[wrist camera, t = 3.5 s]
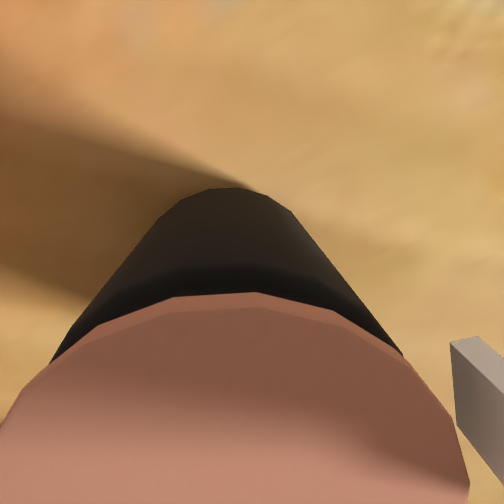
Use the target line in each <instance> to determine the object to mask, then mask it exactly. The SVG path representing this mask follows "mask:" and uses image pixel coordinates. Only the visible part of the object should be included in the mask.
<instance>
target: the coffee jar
mask: <svg viewBox="0 0 504 504" xmlns="http://www.w3.org/2000/svg"><path fill="white" fill-rule="evenodd" d="M469 486H470V481H469V477H468V474H467V470H466V466H465V463H464V459H463V456H462V452H461V448H460V445H459V441H458V438H457V434H456V430H455V427H454V423H453V420H452V417H451V416H450V415H449V413H448V412H447V411H446V410H445V408H444V407H443V406H442V404H441V403H440V402H439V401H438V399H437V398H436V397H435V395H434V394H433V393H432V392H431V390H430V389H429V388H428V386H427V385H426V384H425V383H424V381H423V380H422V379H421V377H420V376H419V375H418V374H417V372H416V371H415V370H414V369H413V367H412V366H411V365H410V363H409V362H408V361H407V360H406V359H405V358H404V357H403V354H402V352H401V351H400V350H399V348H398V347H397V346H396V345H395V343H394V342H393V341H392V339H391V338H390V337H389V336H388V334H387V333H386V332H385V331H384V329H383V328H382V327H381V325H380V324H379V323H378V322H377V320H376V319H375V318H374V316H373V315H372V314H371V313H370V311H369V310H368V309H367V307H366V306H365V305H364V304H363V302H362V301H361V300H360V299H359V297H358V296H357V295H356V293H355V292H354V291H353V290H352V288H351V287H350V286H349V285H348V283H347V282H346V281H345V280H344V278H343V277H342V276H341V274H340V273H339V272H338V271H337V269H336V268H335V267H334V266H333V264H332V263H331V262H330V260H329V259H328V258H327V257H326V255H325V254H324V253H323V252H322V250H321V249H320V248H319V246H318V245H317V244H316V243H315V241H314V240H313V239H312V238H311V236H310V235H309V234H308V232H307V231H306V230H305V229H304V227H303V226H302V225H301V224H300V222H299V221H298V220H297V219H296V217H295V216H294V215H293V213H292V212H291V211H290V210H288V209H287V208H285V207H284V206H282V205H280V204H279V203H277V202H276V201H274V200H273V199H271V198H270V197H268V196H267V195H263V194H259V193H256V192H252V191H248V190H245V189H241V188H226V189H208V190H206V191H203V192H201V193H198V194H195V195H193V196H190V197H188V198H185V199H182V200H181V201H179V202H178V203H177V204H176V205H175V206H173V207H172V208H171V209H170V210H168V211H167V212H166V213H165V214H164V215H162V216H161V217H160V218H159V219H158V220H157V221H156V223H155V224H154V225H153V226H152V228H151V229H150V230H149V231H148V233H147V234H146V235H145V236H144V237H143V239H142V240H141V241H140V242H139V244H138V245H137V246H136V247H135V249H134V250H133V251H132V252H131V254H130V255H129V256H128V257H127V259H126V260H125V261H124V262H123V263H122V265H121V266H120V267H119V268H118V270H117V271H116V272H115V273H114V275H113V276H112V277H111V278H110V280H109V281H108V282H107V283H106V285H105V286H104V287H103V288H102V289H101V291H100V292H99V293H98V294H97V296H96V297H95V298H94V299H93V301H92V302H91V303H90V304H89V306H88V307H87V308H86V309H85V311H84V312H83V313H82V314H81V316H80V317H79V318H78V319H77V320H76V322H75V323H74V324H73V325H72V327H71V328H70V330H69V331H68V333H67V335H66V336H65V338H64V340H63V341H62V343H61V345H60V346H59V348H58V350H57V351H56V353H55V355H54V356H53V358H52V360H51V361H50V363H49V365H48V366H47V367H45V368H44V369H43V370H42V371H40V372H39V373H38V374H37V375H36V376H35V377H34V378H33V379H32V380H31V381H30V382H29V383H28V384H27V385H26V386H25V387H24V388H23V389H22V390H21V392H20V393H19V395H18V397H17V398H16V400H15V402H14V403H13V405H12V407H11V409H10V410H9V412H8V414H7V415H6V417H5V419H4V420H3V422H2V424H1V425H0V504H467V502H468V494H469Z"/></svg>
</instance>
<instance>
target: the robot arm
mask: <svg viewBox="0 0 504 504" xmlns="http://www.w3.org/2000/svg"><path fill="white" fill-rule="evenodd" d="M450 352H451V363H452V375H453V387H454V398H455V410H456V422H457V426H458V427H459V429H460V430H461V431H462V433H463V434H464V435H465V437H466V438H467V439H468V440H469V442H470V443H471V444H472V446H473V447H474V448H475V449H476V451H477V452H478V453H479V455H480V456H481V457H482V458H483V460H484V461H485V462H486V464H487V465H488V466H489V467H490V469H491V470H492V471H493V473H494V474H495V475H496V476H497V478H498V479H499V480H500V482H501V483H502V484H503V485H504V358H503V357H502V356H501V355H500V354H498V353H497V352H496V351H495V350H494V349H492V348H491V347H490V346H489V345H487V344H486V343H485V342H484V341H483V340H481V339H480V338H479V337H478V336H476V337H471V338H467V339H462V340H458V341H453V342H450Z"/></svg>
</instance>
